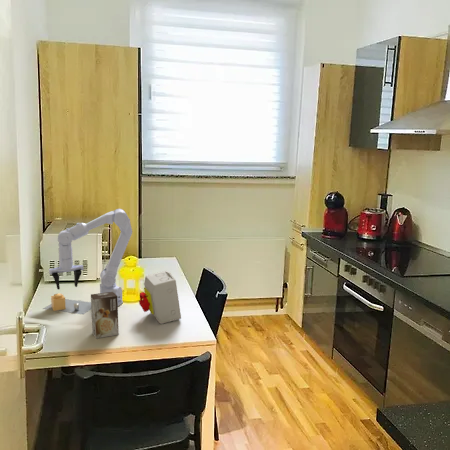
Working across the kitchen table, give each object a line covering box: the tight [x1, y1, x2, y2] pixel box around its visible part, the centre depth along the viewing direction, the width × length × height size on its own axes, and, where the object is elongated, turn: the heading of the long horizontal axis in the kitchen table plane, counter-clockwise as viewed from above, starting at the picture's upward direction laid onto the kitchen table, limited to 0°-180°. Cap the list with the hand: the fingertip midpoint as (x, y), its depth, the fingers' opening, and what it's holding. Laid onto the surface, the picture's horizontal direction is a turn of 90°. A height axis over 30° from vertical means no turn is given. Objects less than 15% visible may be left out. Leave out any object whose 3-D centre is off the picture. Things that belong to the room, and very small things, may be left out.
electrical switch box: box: [138, 270, 182, 325], centre depth 210 cm, size 15×15×20 cm
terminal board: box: [42, 298, 91, 315], centre depth 219 cm, size 20×14×2 cm
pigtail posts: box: [74, 303, 79, 311], centre depth 215 cm, size 11×2×3 cm, turn 74°
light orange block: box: [50, 293, 66, 312], centre depth 216 cm, size 5×5×6 cm
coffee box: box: [90, 292, 120, 339], centre depth 193 cm, size 9×6×16 cm
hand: (67, 287), depth 220 cm, fingers open, 7 cm apart
